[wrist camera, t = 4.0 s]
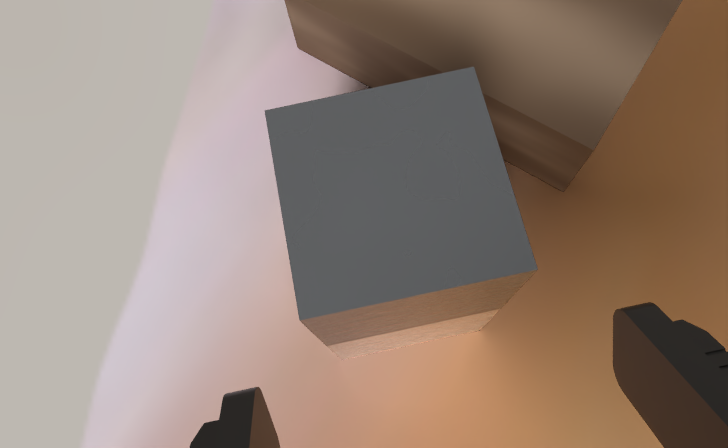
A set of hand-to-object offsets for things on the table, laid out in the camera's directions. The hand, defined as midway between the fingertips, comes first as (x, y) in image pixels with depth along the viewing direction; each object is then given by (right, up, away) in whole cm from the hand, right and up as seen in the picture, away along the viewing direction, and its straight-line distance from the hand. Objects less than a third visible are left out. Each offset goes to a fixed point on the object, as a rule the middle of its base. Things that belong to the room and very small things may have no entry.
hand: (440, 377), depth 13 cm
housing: (0, +1, +11) cm, 11 cm away
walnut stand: (+5, +14, +15) cm, 21 cm away
